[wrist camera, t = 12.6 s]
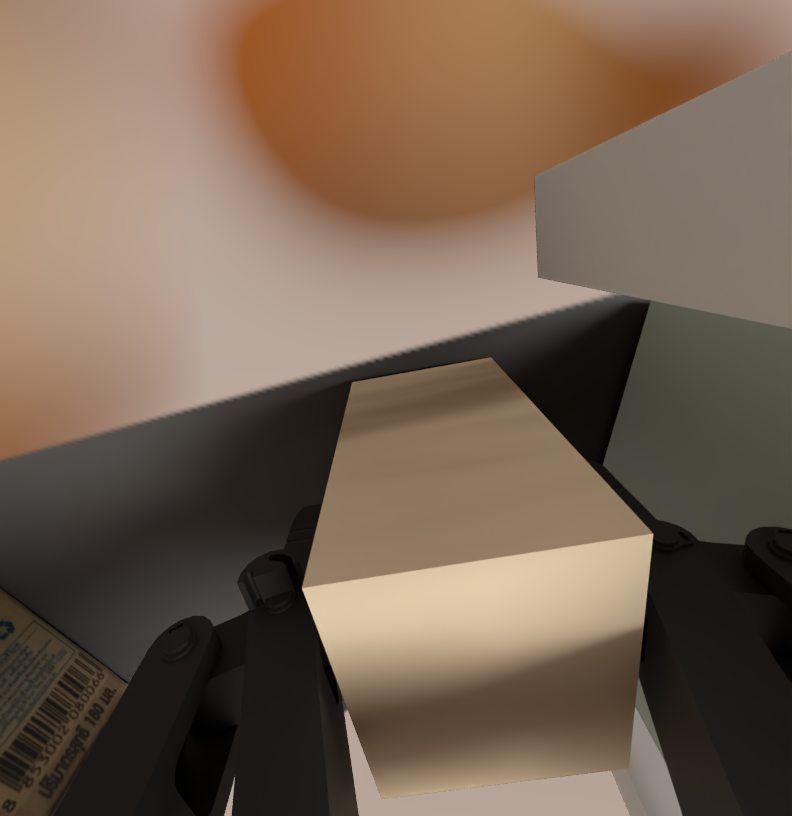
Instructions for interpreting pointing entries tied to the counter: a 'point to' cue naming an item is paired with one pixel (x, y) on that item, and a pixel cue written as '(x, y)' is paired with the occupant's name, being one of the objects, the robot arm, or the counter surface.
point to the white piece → (681, 246)
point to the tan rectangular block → (475, 587)
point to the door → (707, 428)
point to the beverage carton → (46, 710)
